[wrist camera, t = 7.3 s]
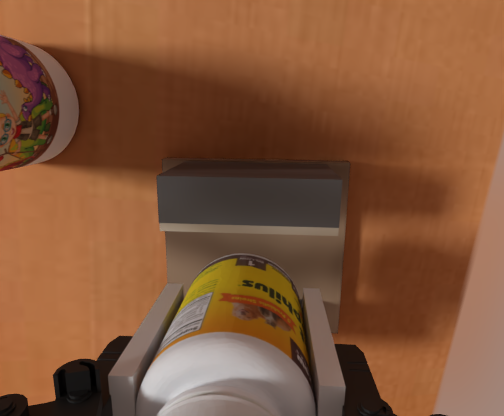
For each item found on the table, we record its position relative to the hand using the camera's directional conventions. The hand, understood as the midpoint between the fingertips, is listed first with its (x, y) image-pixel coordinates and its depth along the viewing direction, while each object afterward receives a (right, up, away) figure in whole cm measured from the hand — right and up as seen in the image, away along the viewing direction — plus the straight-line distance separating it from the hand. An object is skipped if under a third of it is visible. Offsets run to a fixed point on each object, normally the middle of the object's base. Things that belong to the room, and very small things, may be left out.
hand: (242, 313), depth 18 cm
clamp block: (+1, +2, +9) cm, 9 cm away
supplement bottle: (0, 0, +1) cm, 2 cm away
